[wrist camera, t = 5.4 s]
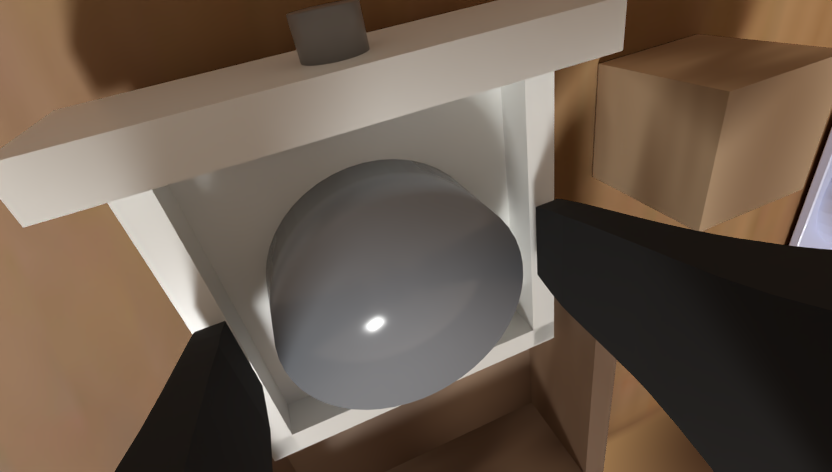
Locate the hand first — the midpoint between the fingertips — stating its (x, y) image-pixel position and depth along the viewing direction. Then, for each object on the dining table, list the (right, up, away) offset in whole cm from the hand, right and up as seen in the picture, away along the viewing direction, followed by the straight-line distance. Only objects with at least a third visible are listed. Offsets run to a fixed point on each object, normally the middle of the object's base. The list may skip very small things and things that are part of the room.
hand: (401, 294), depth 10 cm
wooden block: (+7, +5, +4) cm, 10 cm away
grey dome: (-1, +1, +1) cm, 1 cm away
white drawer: (-1, +2, +1) cm, 2 cm away
